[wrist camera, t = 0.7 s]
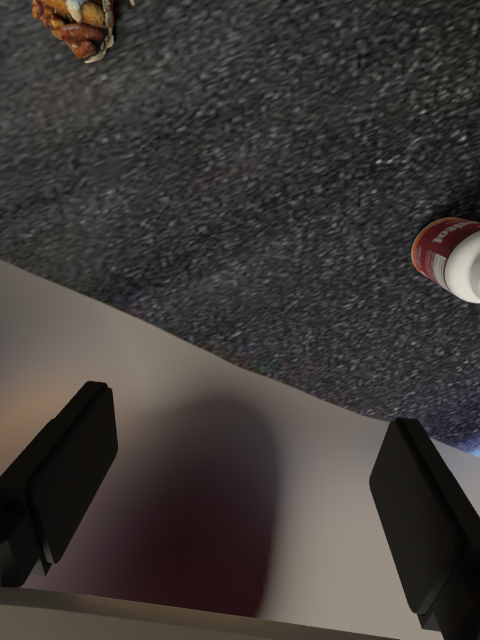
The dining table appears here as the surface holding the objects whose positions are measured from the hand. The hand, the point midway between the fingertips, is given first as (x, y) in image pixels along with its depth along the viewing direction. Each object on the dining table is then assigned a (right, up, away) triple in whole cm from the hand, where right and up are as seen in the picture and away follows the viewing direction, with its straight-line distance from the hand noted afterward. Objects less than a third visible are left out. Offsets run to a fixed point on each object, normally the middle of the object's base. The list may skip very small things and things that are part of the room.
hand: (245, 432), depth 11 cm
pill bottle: (+21, +11, +22) cm, 32 cm away
